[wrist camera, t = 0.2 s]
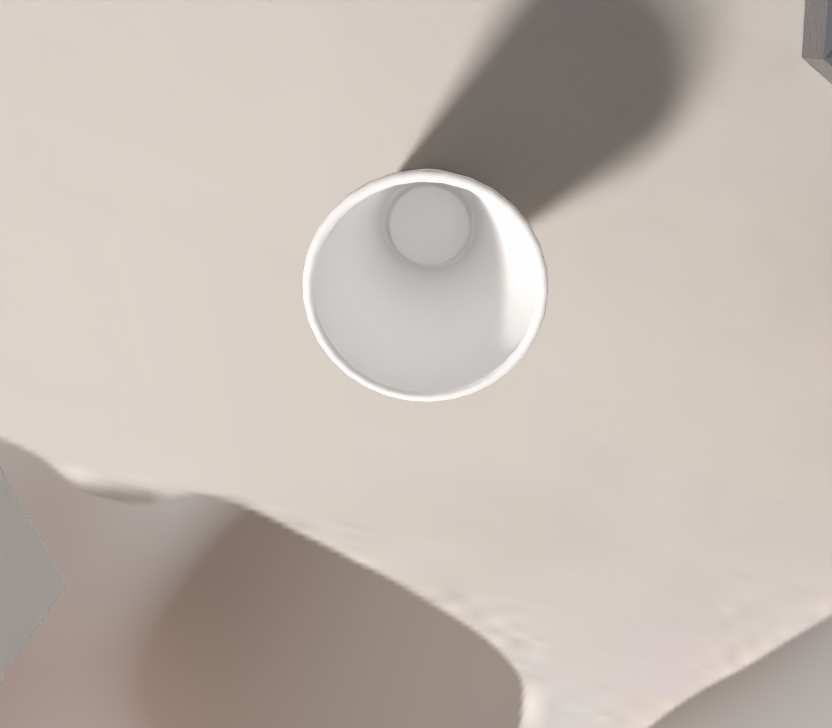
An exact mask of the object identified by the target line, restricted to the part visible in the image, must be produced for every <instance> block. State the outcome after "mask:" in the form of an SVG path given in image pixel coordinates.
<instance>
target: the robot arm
mask: <svg viewBox="0 0 832 728" xmlns="http://www.w3.org/2000/svg"><path fill="white" fill-rule="evenodd" d="M66 585H67V583H66V581H65V580H64V578H63V576H62V574H61V573H60V571H59V569H58V567H57V566H56V564H55V562H54V560H53V559H52V557H51V555H50V553H49V552H48V550H47V548H46V546H45V545H44V543H43V541H42V539H41V537H40V536H39V534H38V532H37V531H36V529H35V527H34V525H33V523H32V522H31V520H30V518H29V517H28V515H27V513H26V511H25V509H24V508H23V506H22V504H21V502H20V500H19V499H18V497H17V495H16V494H15V492H14V490H13V488H12V487H11V485H10V483H9V481H8V479H7V478H6V476H5V474H4V472H3V471H2V469H1V467H0V682H1V681H2V679H3V678H4V676H5V675H6V673H7V672H8V670H9V669H10V667H11V666H12V664H13V663H14V661H15V660H16V658H17V657H18V655H19V654H20V652H21V651H22V649H23V648H24V647H25V645H26V644H27V642H28V641H29V639H30V638H31V636H32V635H33V633H34V632H35V630H36V629H37V627H38V626H39V625H40V623H41V622H42V620H43V619H44V617H45V616H46V614H47V613H48V611H49V610H50V608H51V607H52V605H53V604H54V602H55V601H56V599H57V598H58V596H59V595H60V593H61V592H62V591H63V589H64V588H65V586H66Z"/></svg>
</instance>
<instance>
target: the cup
mask: <svg viewBox="0 0 832 728" xmlns="http://www.w3.org/2000/svg"><path fill="white" fill-rule="evenodd" d="M547 296H548V279H547V266H546V263H545V259H544V256H543V252H542V249H541V245H540V243H539V241H538V239H537V237H536V236H535V234H534V232H533V230H532V228H531V226H530V224H529V223H528V222H527V220H526V219H525V218H524V217H523V216H522V214H521V213H520V212H519V211H518V210H517V208H516V207H515V206H514V205H513V204H512V203H511V202H509V201H508V200H507V199H506V198H504V197H503V196H502V195H501V194H499V193H498V192H497V191H495V190H494V189H493V188H491V187H489V186H487V185H485V184H483V183H481V182H479V181H477V180H475V179H473V178H471V177H467V176H463V175H459V174H456V173H452V172H448V171H444V170H440V169H428V168H426V169H417V170H410V171H403V172H396V173H392V174H389V175H386V176H383V177H381V178H378V179H375V180H372V181H370V182H368V183H366V184H364V185H363V186H361V187H360V188H358V189H356V190H355V191H353V192H351V193H350V194H348V195H347V196H346V197H345V198H344V199H343V200H342V201H341V202H339V203H338V204H337V205H336V206H335V207H334V208H333V209H332V210H331V211H330V212H329V213H328V215H327V216H326V218H325V219H324V221H323V222H322V224H321V225H320V227H319V228H318V229H317V231H316V233H315V235H314V238H313V240H312V243H311V245H310V247H309V250H308V252H307V256H306V262H305V267H304V273H303V299H304V304H305V308H306V312H307V316H308V320H309V323H310V325H311V327H312V329H313V331H314V334H315V336H316V338H317V340H318V342H319V343H320V345H321V346H322V347H323V349H324V350H325V351H326V353H327V354H328V356H329V357H330V358H331V360H332V361H334V362H335V363H336V364H337V365H338V366H339V367H340V368H341V369H342V370H343V371H344V372H345V373H346V374H347V375H349V376H350V377H352V378H353V379H355V380H356V381H358V382H360V383H361V384H363V385H364V386H366V387H368V388H370V389H373V390H375V391H377V392H380V393H382V394H384V395H388V396H392V397H396V398H400V399H405V400H413V401H429V402H430V401H439V400H448V399H453V398H457V397H460V396H464V395H467V394H471V393H474V392H476V391H478V390H480V389H482V388H484V387H486V386H488V385H490V384H492V383H493V382H495V381H496V380H497V379H499V378H500V377H501V376H503V375H504V374H506V373H507V372H508V371H510V370H511V369H512V368H513V366H514V365H515V364H516V363H517V362H518V361H519V360H520V359H521V358H522V357H523V356H524V355H525V354H526V352H527V350H528V349H529V347H530V345H531V344H532V342H533V341H534V339H535V337H536V336H537V334H538V331H539V328H540V326H541V323H542V320H543V317H544V315H545V310H546V303H547Z"/></svg>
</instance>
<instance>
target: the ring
mask: <svg viewBox="0 0 832 728" xmlns="http://www.w3.org/2000/svg"><path fill="white" fill-rule="evenodd" d="M802 58H804V59H805V60H806V61H807V62H808V63H809V64H810V65H811V66H813V67H814V68H815V69H816V70H817V71H818V72H819V73H820V74H822V75H823V76H824V77H825V78H826V79H827V80H828V81H829V82H831V83H832V0H806V3H805V19H804V36H803V52H802Z"/></svg>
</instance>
